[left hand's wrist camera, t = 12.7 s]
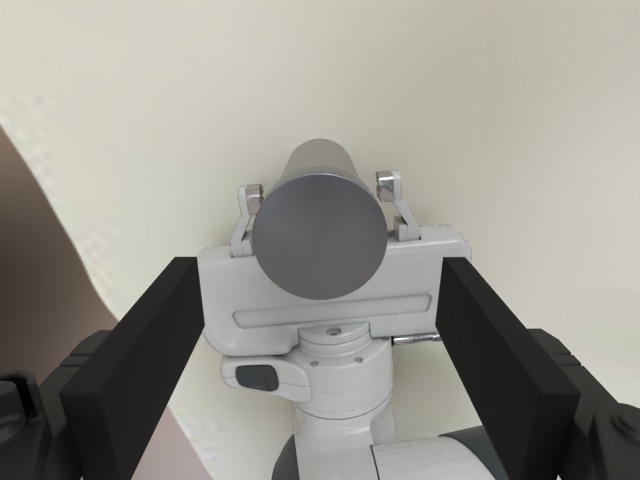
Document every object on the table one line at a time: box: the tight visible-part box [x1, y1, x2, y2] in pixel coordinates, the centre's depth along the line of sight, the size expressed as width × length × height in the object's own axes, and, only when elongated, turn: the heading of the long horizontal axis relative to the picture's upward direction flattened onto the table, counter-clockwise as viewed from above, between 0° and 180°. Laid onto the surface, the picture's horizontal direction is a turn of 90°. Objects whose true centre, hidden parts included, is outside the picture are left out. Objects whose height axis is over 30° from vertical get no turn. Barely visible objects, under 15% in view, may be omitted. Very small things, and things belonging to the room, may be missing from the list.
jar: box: [281, 139, 359, 179], centre depth 27 cm, size 6×6×16 cm
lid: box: [252, 166, 388, 300], centre depth 20 cm, size 6×6×2 cm
